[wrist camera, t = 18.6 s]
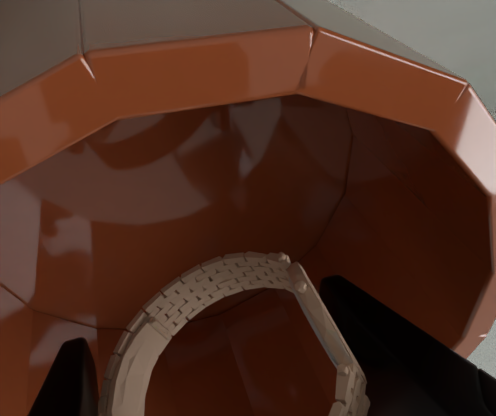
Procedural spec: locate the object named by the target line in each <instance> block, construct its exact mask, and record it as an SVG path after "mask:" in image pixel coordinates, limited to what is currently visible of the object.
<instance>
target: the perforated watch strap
mask: <svg viewBox="0 0 496 416" xmlns="http://www.w3.org/2000/svg"><path fill="white" fill-rule="evenodd" d="M195 277H196V278H195ZM216 285H217V286H216ZM262 287H266V288H277V289H284V288H285V289H286V290H288V291H290V292H292V293H294V294H295V296H296V298H297V300H298V302H299V304H300V306H301V308H302V310H303V312H304V314H305V316H306V318H307V320H308V321H309V323H310V325H311V327H312V329H313V330H314V332H315V334H316V336H317V337H318V339H319V341H320V342H321V344H322V346H323V348H324V349H325V351H326V353H327V354H328V356H329V358H330V359H331V361H332V363H333V364H334V365H335V367H336V368H337V379H336V394H335V399H336V401H337V402H335V403H333V406H332V408H331V411H330V413H329V416H367V413H368V409H369V407H370V401H369V399H368V397H367V396H366V395H365V390H366V384H367V381H366V378H365V375H364V373H363V371H362V369H361V367H360V366H359V364H358V362H357V360H356V359H355V357H354V355H353V353H352V352H351V350H350V348H349V347H348V345H347V343H346V341H345V340H344V338H343V336H342V335H341V333H340V331H339V329H338V328H337V326H336V324H335V322H334V321H333V319H332V317H331V316H330V314H329V312H328V310H327V309H326V307H325V305H324V303H323V302H322V300H321V298H320V297H319V295H318V293H317V291H316V290H315V288H314V286H313V285H312V283H311V281H310V279H309V278H308V276H307V274H306V272H305V271H304V269H303V268H302V266H301V265H300V264H299V263H298V262H297V261H296V262H294V263H291V262H290V259H289V257H288V255H285V254H284V253H282V252H280V253H279V254H277V253H269V254H268V255H267V254H263V253H257V252H251V251H248V252H246V253H245V254H244V252H242V253H233V254H225V256H224V257H223V258H221V257H220V256H218V257H216V258H213V259H211V260H208V261H206V262H204V263H202V266H201V267H200V265H199V264H198V265H197V266H195V267H193V268H191V269H190V270H188V271H186V272H184V273H183V274H181V278H180V277H179V276H178V277H177V278H176V279H174V280H173V281H172V282H170V283H169V284H167V285H166V286H165V287H163V288H162V289H161V291H162V293H163V294H164V295H162V294H161V292H160V291H159V292H158V293H157V294H156V295H155V296H153V297H152V298H151V299H150V300H149V301H148V302H147V303H146V304H145V305H143V306H142V307H143V308H144V309H145V310H146V313H145V312H144V311H143V310H142V309H141V310H140V311H139V312H138V314H137V315H136V316H135V317H134V318H133V320H132V321H131V322H130V323H129V324H128V326H127V327H126V329H127V330H128V331H129V332H130V333H129V332H126V331H124V332H123V334H122V336H121V337H120V339H119V341H118V343H117V345H116V347H115V349H114V351H113V353H114V354H115V355H111V357H110V360H109V362H108V365H107V368H106V371H105V374H104V377H105V378H106V379H107V380H103V384H102V390H101V395H100V400H99V401H98V416H144V409H145V395H146V392H147V388H148V384H149V380H150V376H151V372H152V369H153V367H154V365H155V363H156V361H157V359H158V356H159V355H160V354H161V353H162V351H163V350H164V348H165V347H166V345H167V344H168V343H169V341H170V340H171V338H172V337H171V336H172V335H173V336H174V335H175V334H176V333H177V332H178V331H179V330H180V329H181V328H182V327H183V326H184V325H185V324H186V323H187V322H188V321H187V320H186V318H185V317H187V318H188V319H189V320H190V319H191V318H193V317H194V316H195V315H196V314H198V313H199V312H200V311H202V310H203V309H204V308H205V307H207V306H209V305H211V304H212V303H214V302H216V301H218V300H220V299H222V298H223V297H224V295H225V296H229V295H232V294H235V293H238V292H241V291H244V289H245V290H249V289H255V288H262ZM175 290H176V291H175ZM209 294H210V295H209ZM223 294H224V295H223ZM197 296H198V297H197ZM183 298H184V299H183ZM170 302H171V303H170ZM204 304H205V305H204ZM157 306H158V307H157ZM191 307H192V308H191ZM178 310H179V311H178ZM165 314H167V315H166V316H165ZM173 321H174V322H173ZM140 325H141V326H140Z"/></svg>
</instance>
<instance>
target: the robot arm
mask: <svg viewBox="0 0 496 416" xmlns="http://www.w3.org/2000/svg"><path fill="white" fill-rule="evenodd" d="M319 297H320V298H321V300H322V302H323V303H324V305H325V307H326V309H327V310H328V312H329V314H330V316H331V317H332V319H333V321H334V322H335V324H336V326H337V328H338V329H339V331H340V333H341V335H342V336H343V338H344V340H345V341H346V343H347V345H348V347H349V348H350V350H351V352H352V353H353V355H354V357H355V359H356V360H357V362H358V364H359V366H360V367H361V369H362V371H363V373H364V375H365V378H366V381H367V384H366V390H365V395H366V396H367V397H368V399H369V401H370V407H369V409H368V413H367V416H496V379H495V378H494V377H492V376H491V375H489V374H488V373H486V372H485V371H483V370H482V369H478V368H477V366H476V365H474V364H473V363H471V362H470V361H468V360H467V359H465V358H464V357H462V356H461V355H459V354H458V353H456V352H455V351H453V350H452V349H450V348H449V347H447V346H446V345H444V344H443V343H441V342H440V341H438V340H437V339H435V338H434V337H432V336H431V335H429V334H428V333H426V332H425V331H423V330H422V329H420V328H419V327H417V326H416V325H414V324H413V323H411V322H410V321H408V320H407V319H405V318H404V317H402V316H401V315H399V314H398V313H396V312H395V311H393V310H392V309H390V308H389V307H388V306H386V305H385V304H383V303H382V302H380V301H379V300H377V299H376V298H374V297H373V296H371V295H370V294H368V293H367V292H365V291H364V290H362V289H361V288H359V287H358V286H356V285H355V284H353V283H352V282H350V281H349V280H347V279H346V278H344V277H343V276H341V275H338V274H336V275H331V276H327V277H324V278H322V280H321V282H320V290H319ZM98 401H99V391H98V383H97V374H96V367H95V363H94V359H93V357H92V354H91V351H90V348H89V346H88V343H87V341H86V339H85V338H84V337H79V338H75V339H71V340H67V341H65V342H64V343H63V344H62V345H61V347H60V349H59V351H58V353H57V355H56V357H55V360H54V362H53V364H52V366H51V368H50V370H49V372H48V374H47V376H46V378H45V380H44V382H43V385H42V387H41V389H40V391H39V393H38V395H37V397H36V399H35V401H34V403H33V405H32V407H31V410H30V412H29V414H28V416H98Z"/></svg>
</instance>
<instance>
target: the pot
mask: <svg viewBox="0 0 496 416" xmlns="http://www.w3.org/2000/svg"><path fill="white" fill-rule="evenodd" d="M248 251H251V252H257V253H263V254H267V255H268V254H269V253H277V254H279V253H280V252H282V253H284V254H285V255H288V257H289V259H290V262H291V263H294V262H296V261H297V262H298V263H299V264H300V265H301V266H302V268H303V269H304V271H305V272H306V274H307V276H308V278H309V279H310V281H311V283H312V285H313V286H314V288H315V290H316V291H317V293H318V295H319V290H320V282H321V280H322V278H324V277H327V276H331V275H336V274H338V275H341V276H343V277H344V278H346V279H347V280H349V281H350V282H352V283H353V284H355V285H356V286H358V287H359V288H361V289H362V290H364V291H365V292H367V293H368V294H370V295H371V296H373V297H374V298H376V299H377V300H379V301H380V302H382V303H383V304H385V305H386V306H388V307H389V308H390V309H392V310H393V311H395V312H396V313H398V314H399V315H401V316H402V317H404V318H405V319H407V320H408V321H410V322H411V323H413V324H414V325H416V326H417V327H419V328H420V329H422V330H423V331H425V332H426V333H428V334H429V335H431V336H432V337H434V338H435V339H437V340H438V341H440V342H441V343H443V344H444V345H446V346H447V347H449V348H450V349H452V350H453V351H455V352H456V353H458V354H459V355H461V356H462V357H464V358H465V359H467V357H468V356H469V355H470V354H471V353H472V352H473V351H474V350H475V349H476V347H477V346H478V345H479V344H480V343H481V342H482V341H483V340H484V339H485V337H486V336H487V334H488V333H489V331H490V329H491V327H492V325H493V323H494V321H495V319H496V121H495V119H494V118H493V117H492V115H491V114H490V112H489V111H488V109H487V108H486V106H485V105H484V103H483V102H482V100H481V99H480V98H479V96H478V95H477V93H476V92H475V90H474V89H473V87H472V86H471V84H470V83H468V82H467V81H466V79H464V78H462V77H461V76H459V75H457V74H455V73H454V72H452V71H450V70H448V69H447V68H445V67H443V66H441V65H440V64H438V63H436V62H434V61H433V60H431V59H429V58H427V57H426V56H424V55H422V54H420V53H419V52H417V51H415V50H413V49H412V48H410V47H408V46H406V45H405V44H403V43H401V42H399V41H398V40H396V39H394V38H392V37H391V36H389V35H387V34H385V33H384V32H382V31H380V30H378V29H377V28H375V27H373V26H371V25H370V24H368V23H366V22H364V21H363V20H361V19H359V18H357V17H356V16H354V15H352V14H350V13H349V12H347V11H345V10H343V9H342V8H340V7H338V6H336V5H335V4H333V3H331V2H329V1H328V0H0V416H28V414H29V412H30V410H31V407H32V405H33V403H34V401H35V399H36V397H37V395H38V393H39V391H40V389H41V387H42V385H43V382H44V380H45V378H46V376H47V374H48V372H49V370H50V368H51V366H52V364H53V362H54V360H55V357H56V355H57V353H58V351H59V349H60V347H61V345H62V344H63V343H64V342H65V341H67V340H71V339H75V338H79V337H84V338H85V339H86V341H87V343H88V346H89V348H90V351H91V354H92V357H93V359H94V363H95V367H96V374H97V383H98V391H99V400H100V395H101V390H102V384H103V380H107V379H106V378H105V377H104V374H105V371H106V368H107V365H108V362H109V360H110V357H111V355H115V354H114V353H113V351H114V349H115V347H116V345H117V343H118V341H119V339H120V337H121V336H122V334H123V332H124V331H126V332H129V331H128V330H127V329H126V327H127V326H128V324H129V323H130V322H131V321H132V320H133V318H134V317H135V316H136V315H137V314H138V312H139V311H140V310H141V309H142V310H143V311H144V312H145V313H146V310H145V309H144V308H143V307H142V306H143V305H145V304H146V303H147V302H148V301H149V300H150V299H151V298H152V297H153V296H155V295H156V294H157V293H158V292H159V291H160V292H161V294H162V295H164V294H163V293H162V291H161V289H162V288H163V287H165V286H166V285H167V284H169V283H170V282H172V281H173V280H174V279H176V278H177V277H178V276H179V277H180V278H181V274H183V273H184V272H186V271H188V270H190V269H191V268H193V267H195V266H197V265H198V264H199V265H200V267H201V266H202V263H204V262H206V261H208V260H211V259H213V258H216V257H218V256H220V257H221V258H223V257H224V256H225V254H233V253H242V252H244V254H245V253H246V252H248ZM195 278H196V277H195ZM216 286H217V285H216ZM175 291H176V290H175ZM209 295H210V294H209ZM223 295H224V294H223ZM197 297H198V296H197ZM183 299H184V298H183ZM170 303H171V302H170ZM204 305H205V304H204ZM157 307H158V306H157ZM191 308H192V307H191ZM178 311H179V310H178ZM166 315H167V314H165V316H166ZM185 318H186V320H187V321H188V322H187V323H186V324H185V325H184V326H183V327H182V328H181V329H180V330H179V331H178V332H177V333H176V334H175V335H174V336H173V335H172V336H171V337H172V338H171V340H170V341H169V343H168V344H167V345H166V347H165V348H164V350H163V351H162V353H161V354H160V355H159V356H158V359H157V361H156V363H155V365H154V367H153V369H152V372H151V376H150V380H149V384H148V388H147V392H146V395H145V409H144V416H329V413H330V411H331V408H332V406H333V403H335V402H337V401H336V399H335V394H336V379H337V368H336V367H335V365H334V364H333V363H332V361H331V359H330V358H329V356H328V354H327V353H326V351H325V349H324V348H323V346H322V344H321V342H320V341H319V339H318V337H317V336H316V334H315V332H314V330H313V329H312V327H311V325H310V323H309V321H308V320H307V318H306V316H305V314H304V312H303V310H302V308H301V306H300V304H299V302H298V300H297V298H296V296H295V294H294V293H292V292H290V291H288V290H286V289H285V288H284V289H277V288H266V287H262V288H255V289H249V290H245V289H244V291H241V292H238V293H235V294H232V295H229V296H225V295H224V297H223V298H222V299H220V300H218V301H216V302H214V303H212V304H211V305H209V306H207V307H205V308H204V309H203V310H202V311H200V312H199V313H198V314H196V315H195V316H194V317H193V318H191V319H190V320H189V319H188V318H187V317H185ZM173 322H174V321H173ZM140 326H141V325H140ZM129 333H130V332H129Z"/></svg>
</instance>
